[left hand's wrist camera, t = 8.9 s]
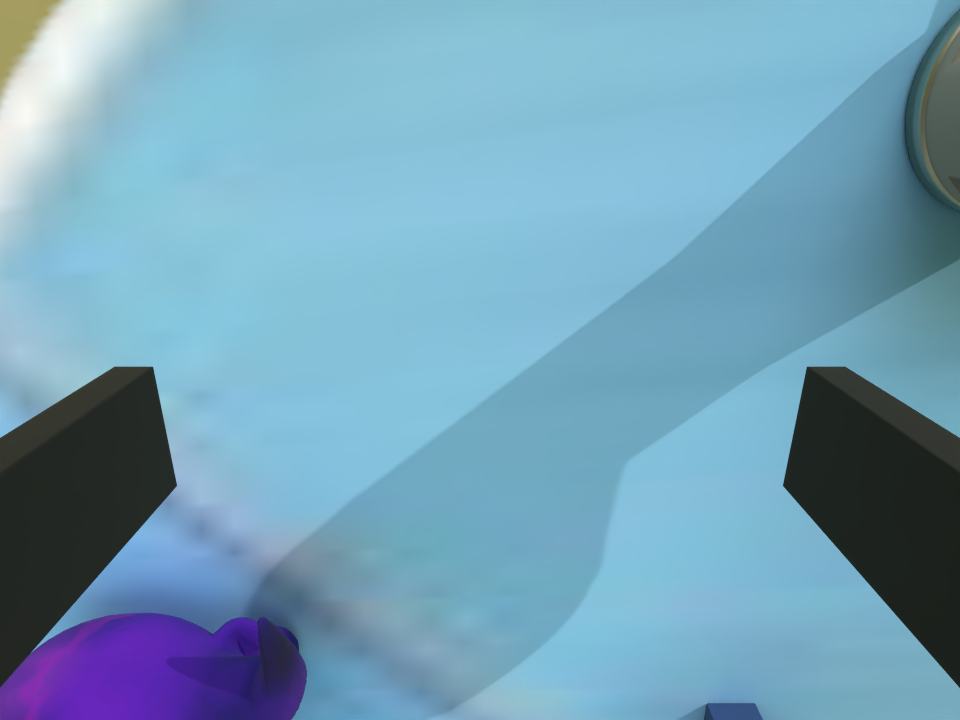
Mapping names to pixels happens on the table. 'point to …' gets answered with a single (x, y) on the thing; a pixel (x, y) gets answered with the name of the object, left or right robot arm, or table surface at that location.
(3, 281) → the table surface
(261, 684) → the toy
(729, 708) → the brick
